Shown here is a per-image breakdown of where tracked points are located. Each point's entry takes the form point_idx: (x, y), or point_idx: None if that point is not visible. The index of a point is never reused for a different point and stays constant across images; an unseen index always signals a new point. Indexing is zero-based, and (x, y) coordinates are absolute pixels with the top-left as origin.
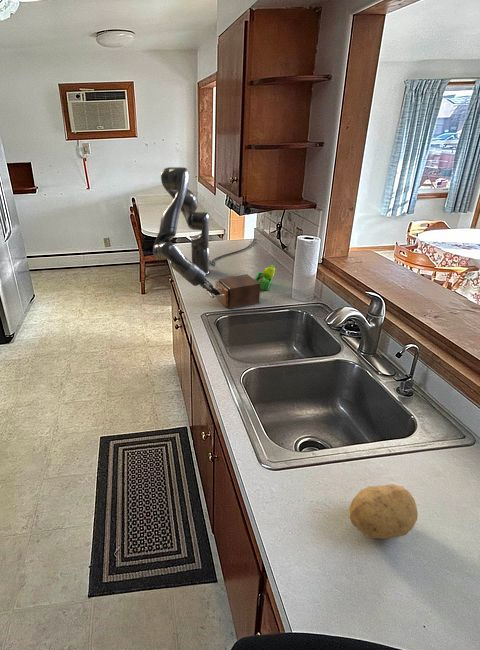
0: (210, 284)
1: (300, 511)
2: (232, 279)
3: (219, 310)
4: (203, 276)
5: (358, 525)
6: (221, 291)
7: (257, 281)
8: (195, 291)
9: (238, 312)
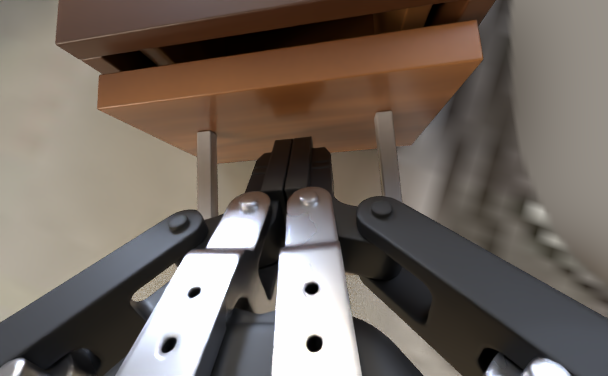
0: (350, 312)
1: None
2: None
3: (422, 205)
4: None
5: None
6: (315, 114)
7: None
8: (46, 268)
9: (498, 79)
